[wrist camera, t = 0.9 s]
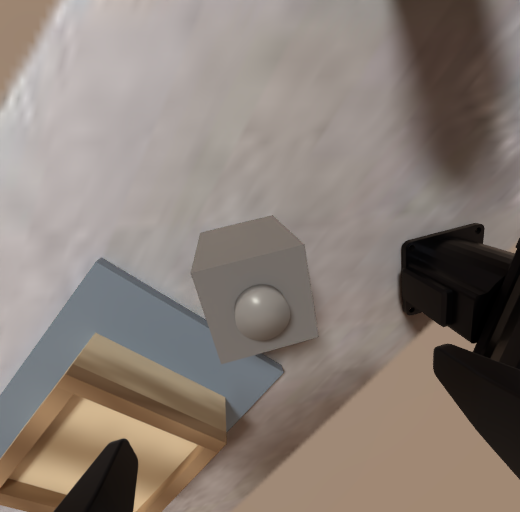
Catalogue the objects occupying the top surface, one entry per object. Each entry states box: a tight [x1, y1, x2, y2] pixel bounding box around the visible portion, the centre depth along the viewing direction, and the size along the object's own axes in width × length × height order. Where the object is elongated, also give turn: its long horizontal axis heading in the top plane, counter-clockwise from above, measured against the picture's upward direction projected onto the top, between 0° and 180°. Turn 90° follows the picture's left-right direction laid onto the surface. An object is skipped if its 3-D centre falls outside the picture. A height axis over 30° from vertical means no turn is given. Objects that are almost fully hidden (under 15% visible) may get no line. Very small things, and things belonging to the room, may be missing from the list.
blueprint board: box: [0, 258, 284, 458], centre depth 21 cm, size 20×16×1 cm
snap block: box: [191, 215, 319, 364], centre depth 15 cm, size 5×5×8 cm
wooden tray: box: [0, 333, 227, 512], centre depth 19 cm, size 11×11×4 cm
